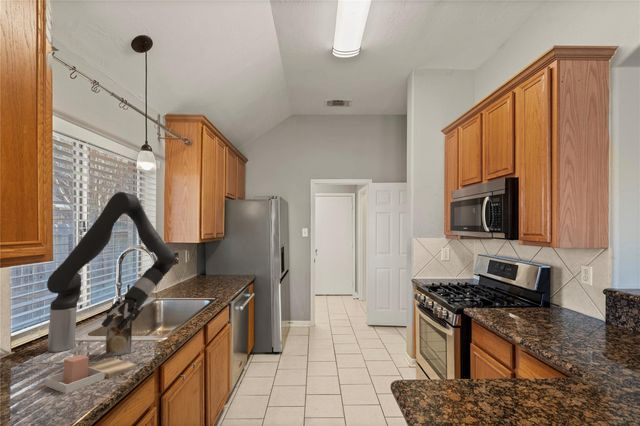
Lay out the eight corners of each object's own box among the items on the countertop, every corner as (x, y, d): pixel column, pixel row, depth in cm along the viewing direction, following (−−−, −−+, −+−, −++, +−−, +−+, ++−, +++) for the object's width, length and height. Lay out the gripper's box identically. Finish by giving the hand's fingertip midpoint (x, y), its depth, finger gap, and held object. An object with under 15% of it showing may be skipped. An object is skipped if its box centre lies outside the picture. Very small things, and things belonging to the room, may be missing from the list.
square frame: (44, 385, 112) (45, 377, 112) (83, 372, 122) (84, 365, 122) (65, 393, 106) (66, 385, 106) (104, 379, 117) (104, 371, 117)
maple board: (84, 370, 124) (85, 366, 124) (112, 361, 133) (112, 357, 133) (109, 378, 118) (109, 374, 118) (135, 368, 126) (136, 364, 127)
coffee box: (130, 348, 147) (131, 311, 148) (131, 353, 142) (133, 314, 143) (104, 352, 142) (106, 313, 143) (105, 357, 137) (107, 317, 138)
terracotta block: (62, 383, 113) (64, 359, 114) (78, 378, 118) (80, 354, 118) (71, 387, 111) (72, 361, 111) (87, 381, 115) (88, 357, 116)
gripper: (122, 284, 137) (91, 319, 126) (146, 287, 131) (116, 324, 120) (134, 295, 142) (105, 330, 131) (158, 298, 135) (129, 335, 124)
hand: (110, 327), depth 125 cm, fingers open, 8 cm apart
